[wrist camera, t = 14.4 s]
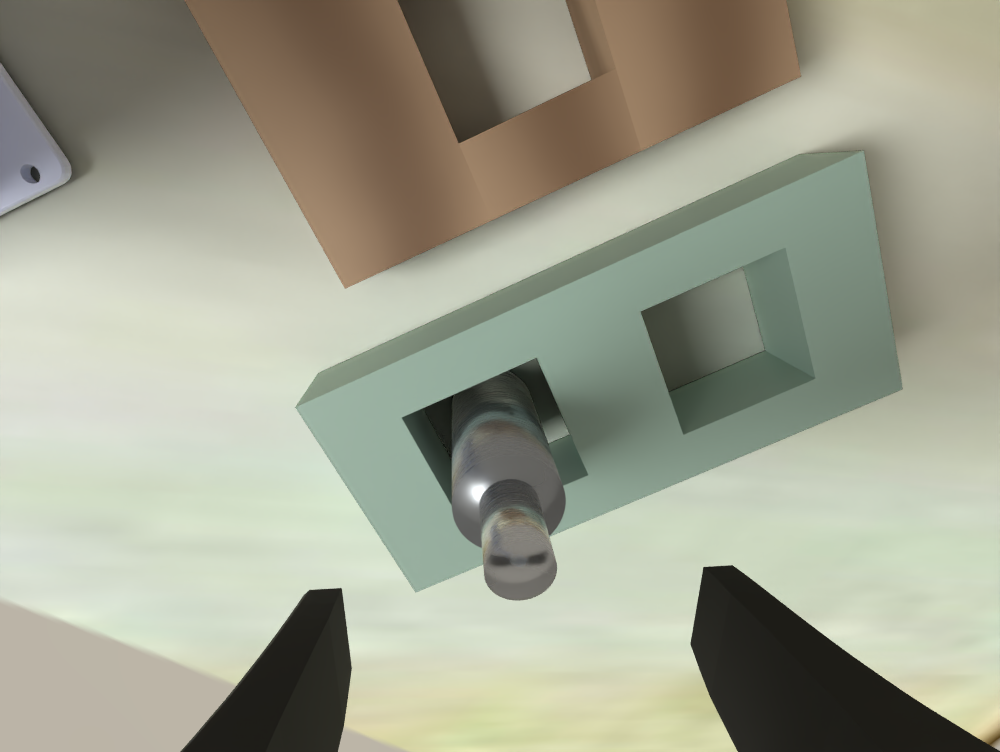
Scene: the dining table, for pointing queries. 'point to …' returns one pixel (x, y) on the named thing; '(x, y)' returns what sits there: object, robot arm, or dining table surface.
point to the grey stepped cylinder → (505, 485)
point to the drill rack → (628, 359)
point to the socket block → (425, 126)
